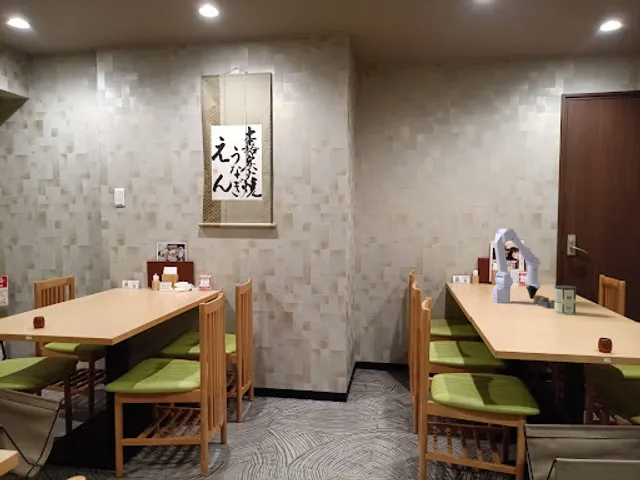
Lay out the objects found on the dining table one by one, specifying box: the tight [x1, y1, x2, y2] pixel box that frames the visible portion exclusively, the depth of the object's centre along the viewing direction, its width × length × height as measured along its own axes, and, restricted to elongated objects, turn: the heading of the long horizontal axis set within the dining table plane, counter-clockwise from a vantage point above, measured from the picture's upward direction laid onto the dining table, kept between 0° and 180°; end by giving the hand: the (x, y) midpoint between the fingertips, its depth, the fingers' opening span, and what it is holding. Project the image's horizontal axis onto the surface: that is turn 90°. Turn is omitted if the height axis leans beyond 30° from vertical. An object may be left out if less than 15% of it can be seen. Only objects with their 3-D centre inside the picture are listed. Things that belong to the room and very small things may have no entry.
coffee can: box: [553, 284, 577, 316], centre depth 252 cm, size 10×10×14 cm
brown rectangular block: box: [533, 294, 550, 305], centre depth 279 cm, size 10×4×4 cm, turn 4°
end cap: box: [537, 299, 555, 309], centre depth 270 cm, size 9×9×3 cm
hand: (532, 298), depth 290 cm, fingers closed
